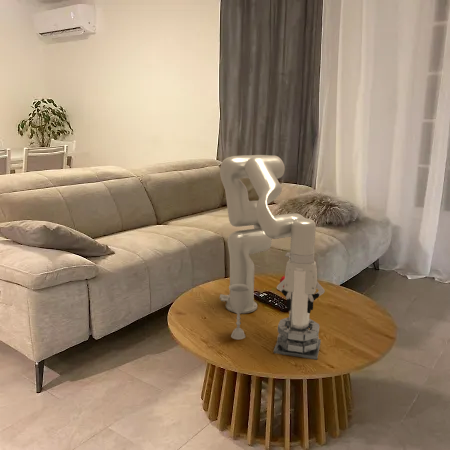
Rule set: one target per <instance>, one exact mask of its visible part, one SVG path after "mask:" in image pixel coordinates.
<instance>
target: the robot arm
mask: <svg viewBox="0 0 450 450" xmlns="http://www.w3.org/2000/svg"><path fill="white" fill-rule="evenodd" d="M285 168H286V167H285V164H284V161H283V160H282V158H280V156H277V155H267V154H253V155H252V154H251V155H250V154H248V155H247V154H246V155H232V156H228V157H226V158H224V159H223V160H222V162H221V164H220V168H219V176H220V180H221V184H222V185H223V188H224V191H225V198H226V206H227V216H228V221H229V224H230V226H232V227H236V228H237V227H238V228H240V227H247V226H253V228H249V229H241V230H236V231H234V232H231V233H230V234H229V235H228V237H227V248H228V253H229V286H231V285H234V284H245V285H247V286H249V289H248V295H247V304H246V306H245V308H244V310H243V312H242V313H241V314H250V313H252V312H255V311H256V310H257V309H258V303H257V302H256V301H255V300H254V298H255V296H254V293H255V290H254V289H255V264H254V261H253V260H252V258H251V257H250V255H253V254H257V253H264V252H266V251H269V250H270V248H271V246H272V242H273V241H272V239H273V240H277V239H279V240H280V239H285V238H290V249H289V250H290V251H289V252H285V257H286V258H289V259H288V260H287V262H286V266H285V273H284V276H285V279H284V280H283V281H282V282H281V283H280V282H279V283H278V284H277V286H276V289H277V288H278V289H279V290H278V289H277V290H278V291H280V292H281V293H282V295H283V296H284V297H285V299H286V308H287V309H288V310H287V311H288V312H289V311H291V300H292V298H291V300H290V296H291V293H293V292H294V270H296V268H303V271H306V273H305V278H306V279H305V280H306V283H305V294H309V299H310V300H309V303H308V313H310V314H311V311H313V310H314V301H315V300H316V299H318V298H319V297H320V296H322V295H324V293H325V291H326V290H325V288H324V287H323V286H322V285H321V284H320V283H319V281H318V269H317V262H316V261H315V246H316V226H317V225H316V222H315V220H313V219H311V218H306V217H304V216H303V215H302V214H300V213H283V214H277V215H276V214H275V215H274V214H273V213H272V211H271V209H270V208H269V204H270V203H272V202H273V201H275V200H276V199H278V198H279V196H280V195H281V193H282V190H283V187H282V185H281V183H280V182H279V180H278V179H281V178H282V177H283V176H284V174H285ZM241 179H249V182H250V183H251V185H252V187H253V189H254V191H255V193H256V194H257V197H258V200H250V199H249V192H248V189H247V186H246V184H244V183H243V181H242V180H241ZM283 286H284V287H283ZM317 290H318V291H317ZM219 300H220V301H221V302H226V303H225V308H226V309H227V310H228V311H229V312H230V313H231V312H232V313H234V314H236V313H235V312H234V310H233V308H232V305H231V302H230V294H221V293H220V294H219Z"/></svg>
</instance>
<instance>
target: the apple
mask: <svg viewBox="0 0 450 450" xmlns="http://www.w3.org/2000/svg"><path fill="white" fill-rule="evenodd" d="M284 279H285V275H283V276H282V277H280V280H279V284H280V283H281V282H282V281H283V280H284ZM283 287H284V286H283ZM276 289H277V290H278V291H280V290H279V289H278V288H277V287H276Z"/></svg>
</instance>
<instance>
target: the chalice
mask: <svg viewBox="0 0 450 450" xmlns="http://www.w3.org/2000/svg"><path fill="white" fill-rule="evenodd" d="M228 289H229V295H230V302H231V305H232V308H233V310H234V312H235V313H234V312H233V313H234V314H236V317H235V318H236V322H235V324H236V328H234V329H233V330H232V333H231V335H230V337H231V338H232V339H234V340H243V339H245V338H246V334H245V331H244V329H242V328H241V327H240V325H241V324H242V323H241V320H242V318H241V314H243V313H242V312H243V310H244V308H245V306H246V304H247V295H248V289H249V286H247V285H245V284H234V285H231V286H230V285H229V286H228Z"/></svg>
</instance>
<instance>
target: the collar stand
mask: <svg viewBox="0 0 450 450" xmlns="http://www.w3.org/2000/svg"><path fill="white" fill-rule="evenodd" d="M319 332H320V323H318V322H316V321H314V319H313V320H312V319H311V318H309V331H305V332H297V331H291V330H289V316H288V317H285V318H281V319H280V320H279V321H278V325H277V333H278V335H277V337H276V344H275V345H274V349H273V354H277V355H285V356H289V357H290V356H291V357H299V358H304V359H311V360H318V358H319V357H318V356H319V351H320V347H321V342H322V340H321V339H320V338H319V337H320V336H319ZM294 340H299V341H294ZM303 340H304V341H303Z"/></svg>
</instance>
